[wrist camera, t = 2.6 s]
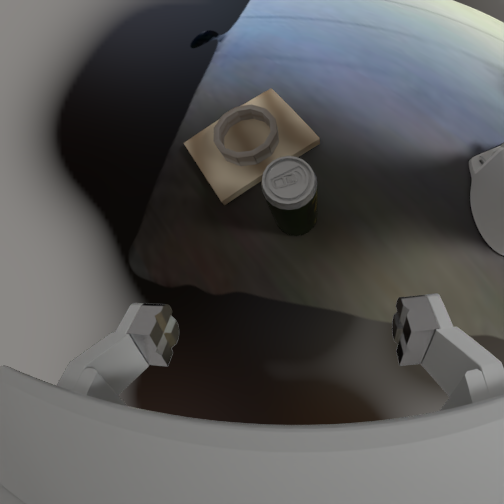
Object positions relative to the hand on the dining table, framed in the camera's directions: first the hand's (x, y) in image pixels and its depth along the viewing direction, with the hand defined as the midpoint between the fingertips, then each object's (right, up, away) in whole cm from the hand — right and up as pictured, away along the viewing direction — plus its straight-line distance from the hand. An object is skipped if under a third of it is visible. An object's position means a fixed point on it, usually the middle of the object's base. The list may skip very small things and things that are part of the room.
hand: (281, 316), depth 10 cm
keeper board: (-1, +18, +32) cm, 36 cm away
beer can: (+5, +7, +29) cm, 30 cm away
